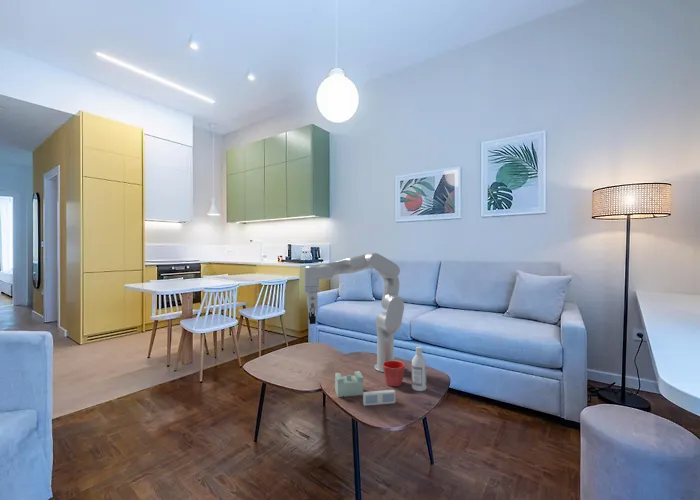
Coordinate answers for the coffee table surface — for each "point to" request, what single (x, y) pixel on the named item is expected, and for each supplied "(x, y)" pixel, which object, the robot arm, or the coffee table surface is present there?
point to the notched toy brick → (349, 384)
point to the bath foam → (418, 371)
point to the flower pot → (393, 372)
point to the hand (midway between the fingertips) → (312, 321)
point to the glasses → (378, 397)
